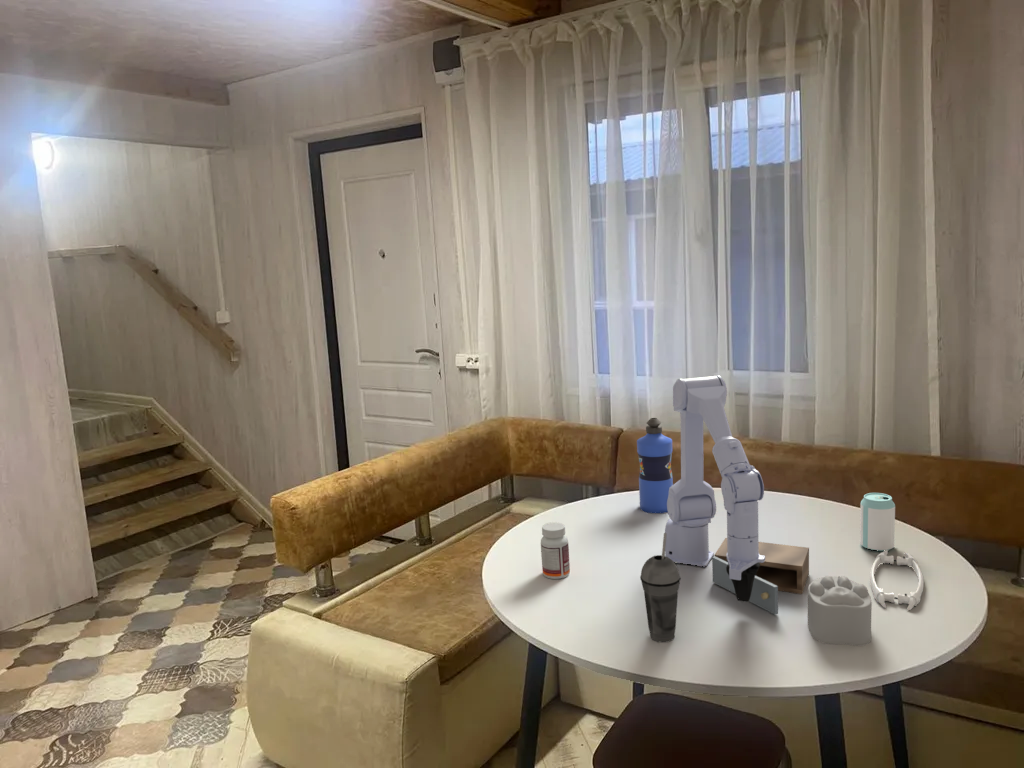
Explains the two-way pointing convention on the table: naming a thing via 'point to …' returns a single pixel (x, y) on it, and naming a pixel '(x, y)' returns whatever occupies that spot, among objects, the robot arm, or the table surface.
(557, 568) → the pill bottle
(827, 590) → the grey paw shaped block
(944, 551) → the table surface
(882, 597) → the white oval frame
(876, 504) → the can
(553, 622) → the table surface
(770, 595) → the cabinet door
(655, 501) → the water bottle
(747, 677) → the table surface
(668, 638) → the beverage cup
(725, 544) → the walnut cabinet
